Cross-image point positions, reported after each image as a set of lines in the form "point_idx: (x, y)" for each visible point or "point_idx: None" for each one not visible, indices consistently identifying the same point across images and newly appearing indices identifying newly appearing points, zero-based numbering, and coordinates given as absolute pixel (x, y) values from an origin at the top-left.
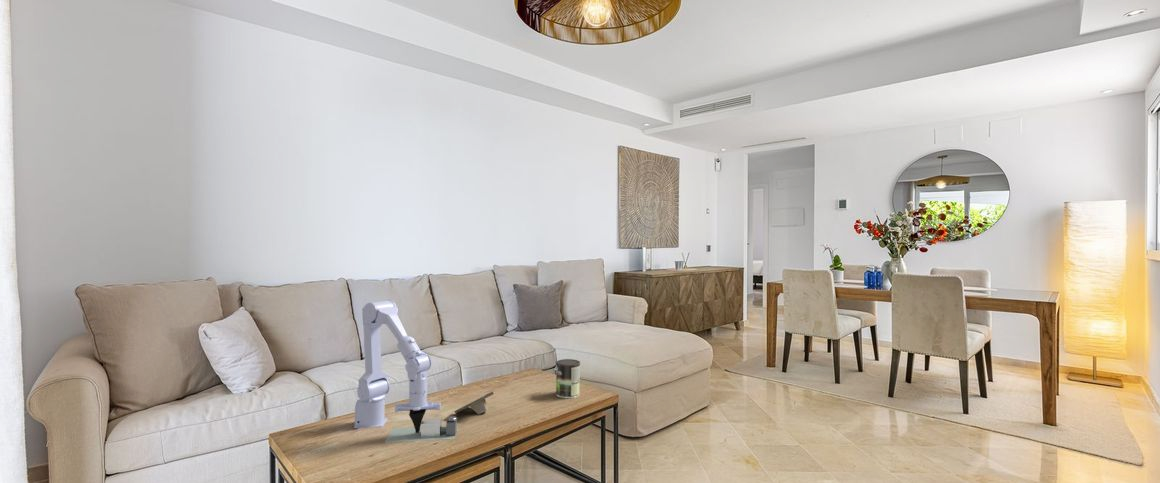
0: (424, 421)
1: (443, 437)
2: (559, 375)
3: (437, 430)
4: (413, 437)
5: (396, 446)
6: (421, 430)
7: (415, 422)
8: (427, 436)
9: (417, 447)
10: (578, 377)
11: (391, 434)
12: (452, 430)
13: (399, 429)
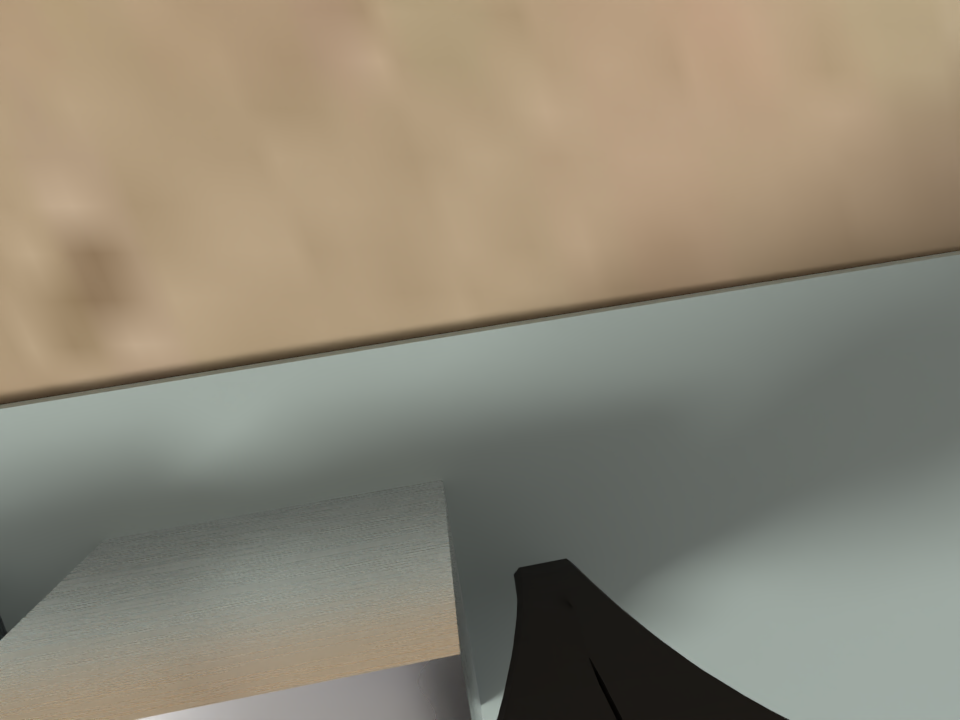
0: None
1: (6, 502)
2: None
3: (78, 602)
4: (574, 471)
5: (763, 139)
6: (440, 548)
7: (649, 690)
8: (328, 506)
9: (372, 89)
10: None
11: (947, 560)
12: None
13: None
